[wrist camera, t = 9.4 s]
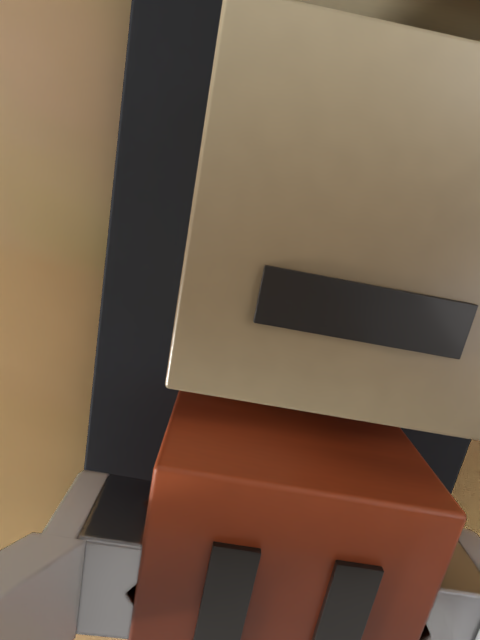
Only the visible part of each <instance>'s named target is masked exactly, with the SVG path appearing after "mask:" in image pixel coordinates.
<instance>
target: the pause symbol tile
mask: <svg viewBox="0 0 480 640" xmlns="http://www.w3.org/2000/svg"><path fill="white" fill-rule="evenodd" d="M465 522H466V514H465V512H464V511H463V510H462V508H461V507H460V506H459V504H458V503H457V502H456V500H455V499H454V498H453V497H452V495H451V494H450V493H449V491H448V490H447V489H446V487H445V486H444V485H443V483H442V482H441V481H440V479H439V478H438V477H437V475H436V474H435V473H434V471H433V470H432V469H431V468H430V466H429V465H428V464H427V462H426V461H425V460H424V458H423V457H422V456H421V454H420V453H419V452H418V450H417V449H416V448H415V446H414V445H413V444H412V442H411V441H410V440H409V439H408V437H407V436H406V435H405V433H404V432H403V431H402V429H401V428H400V427H395V426H389V425H383V424H377V423H371V422H365V421H359V420H353V419H347V418H341V417H335V416H329V415H323V414H317V413H311V412H305V411H299V410H293V409H287V408H281V407H276V406H270V405H264V404H258V403H252V402H246V401H240V400H234V399H228V398H222V397H216V396H210V395H204V394H198V393H192V392H186V391H180V390H179V392H178V395H177V398H176V401H175V404H174V407H173V410H172V413H171V416H170V419H169V422H168V425H167V428H166V432H165V435H164V438H163V441H162V444H161V447H160V450H159V453H158V456H157V459H156V462H155V465H154V468H153V475H152V481H151V488H150V494H149V501H148V508H147V514H146V521H145V527H144V534H143V540H142V546H143V548H142V555H141V561H140V568H139V574H138V581H137V584H136V586H135V593H134V600H133V602H134V608H133V614H132V621H131V627H130V634H129V639H127V640H420V638H421V635H422V632H423V630H424V627H425V625H426V622H427V620H428V617H429V615H430V612H431V609H432V607H433V604H434V602H435V599H436V597H437V594H438V592H439V589H440V586H441V584H442V581H443V579H444V576H445V574H446V571H447V568H448V566H449V563H450V561H451V558H452V556H453V553H454V551H455V548H456V545H457V543H458V540H459V538H460V535H461V533H462V530H463V528H464V525H465Z"/></svg>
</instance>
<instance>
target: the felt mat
mask: <svg viewBox="0 0 480 640" xmlns="http://www.w3.org/2000/svg"><path fill="white" fill-rule="evenodd" d="M222 1H223V0H132V4H131V13H130V23H129V33H128V43H127V53H126V63H125V72H124V82H123V92H122V102H121V112H120V121H119V131H118V141H117V151H116V161H115V171H114V180H113V190H112V200H111V210H110V220H109V230H108V239H107V249H106V259H105V269H104V279H103V288H102V298H101V308H100V318H99V328H98V338H97V347H96V357H95V367H94V377H93V387H92V397H91V406H90V416H89V426H88V436H87V446H86V455H85V465H84V470H89V471H95V472H101V473H108V474H109V475H110V474H114V475H120V476H125V477H131V478H137V479H142V480H148V481H152V475H153V468H154V465H155V462H156V459H157V456H158V453H159V450H160V447H161V444H162V441H163V438H164V435H165V432H166V428H167V425H168V422H169V419H170V416H171V413H172V410H173V407H174V404H175V401H176V398H177V395H178V392H179V390H174V389H169V388H167V387H166V385H165V380H166V374H167V367H168V360H169V354H170V347H171V340H172V334H173V327H174V320H175V314H176V307H177V300H178V294H179V287H180V280H181V274H182V267H183V261H184V254H185V247H186V241H187V234H188V227H189V221H190V214H191V207H192V201H193V194H194V187H195V181H196V174H197V167H198V161H199V154H200V148H201V141H202V134H203V128H204V121H205V114H206V108H207V101H208V94H209V88H210V81H211V74H212V68H213V61H214V54H215V48H216V41H217V35H218V28H219V21H220V15H221V8H222ZM401 429H402V431H403V432H404V433H405V435H406V436H407V437H408V439H409V440H410V441H411V442H412V444H413V445H414V446H415V448H416V449H417V450H418V452H419V453H420V454H421V456H422V457H423V458H424V460H425V461H426V462H427V464H428V465H429V466H430V468H431V469H432V470H433V471H434V473H435V474H436V475H437V477H438V478H439V479H440V481H441V482H442V483H443V485H444V486H445V487H446V489H447V490H448V491H449V493H450V494H451V493H452V490H453V487H454V485H455V482H456V479H457V476H458V474H459V471H460V468H461V466H462V463H463V460H464V458H465V455H466V452H467V450H468V447H469V444H470V441H471V439H466V438H460V437H454V436H448V435H442V434H436V433H430V432H424V431H418V430H412V429H406V428H401Z"/></svg>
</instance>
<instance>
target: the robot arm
mask: <svg viewBox="0 0 480 640" xmlns="http://www.w3.org/2000/svg"><path fill="white" fill-rule="evenodd" d="M150 488H151V481H148V480H142V479H137V478H131V477H125V476H120V475H114V474H110V475H109V474H108V473H101V472H95V471H89V470H83V471H81V472H80V473H79V474H78V475H77V477H76V478H75V480H74V481H73V483H72V485H71V486H70V488H69V490H68V491H67V493H66V494H65V496H64V498H63V499H62V501H61V503H60V504H59V506H58V507H57V509H56V511H55V512H54V514H53V515H52V517H51V519H50V520H49V522H48V524H47V525H46V527H45V528H44V530H43V532H42V533H34V532H32V533H30V534H29V535H27V536H25V537H23V538H21V539H20V540H18V541H16V542H14V543H13V544H11V545H9V546H7V547H5V548H4V549H2V550H0V640H73V639H74V638H75V634H82V635H92V636H102V637H112V638H122V639H129V634H130V627H131V621H132V614H133V608H134V602H133V600H134V593H135V586H136V584H137V581H138V574H139V568H140V561H141V555H142V548H143V546H142V540H143V534H144V527H145V521H146V514H147V508H148V501H149V494H150ZM420 640H480V537H479V536H478V535H477V534H476V533H475V532H473V531H472V530H470V529H465V528H463V530H462V533H461V535H460V538H459V540H458V543H457V545H456V548H455V551H454V553H453V556H452V558H451V561H450V563H449V566H448V568H447V571H446V574H445V576H444V579H443V581H442V584H441V586H440V589H439V592H438V594H437V597H436V599H435V602H434V604H433V607H432V609H431V612H430V615H429V617H428V620H427V622H426V625H425V627H424V630H423V632H422V635H421V638H420Z"/></svg>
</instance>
